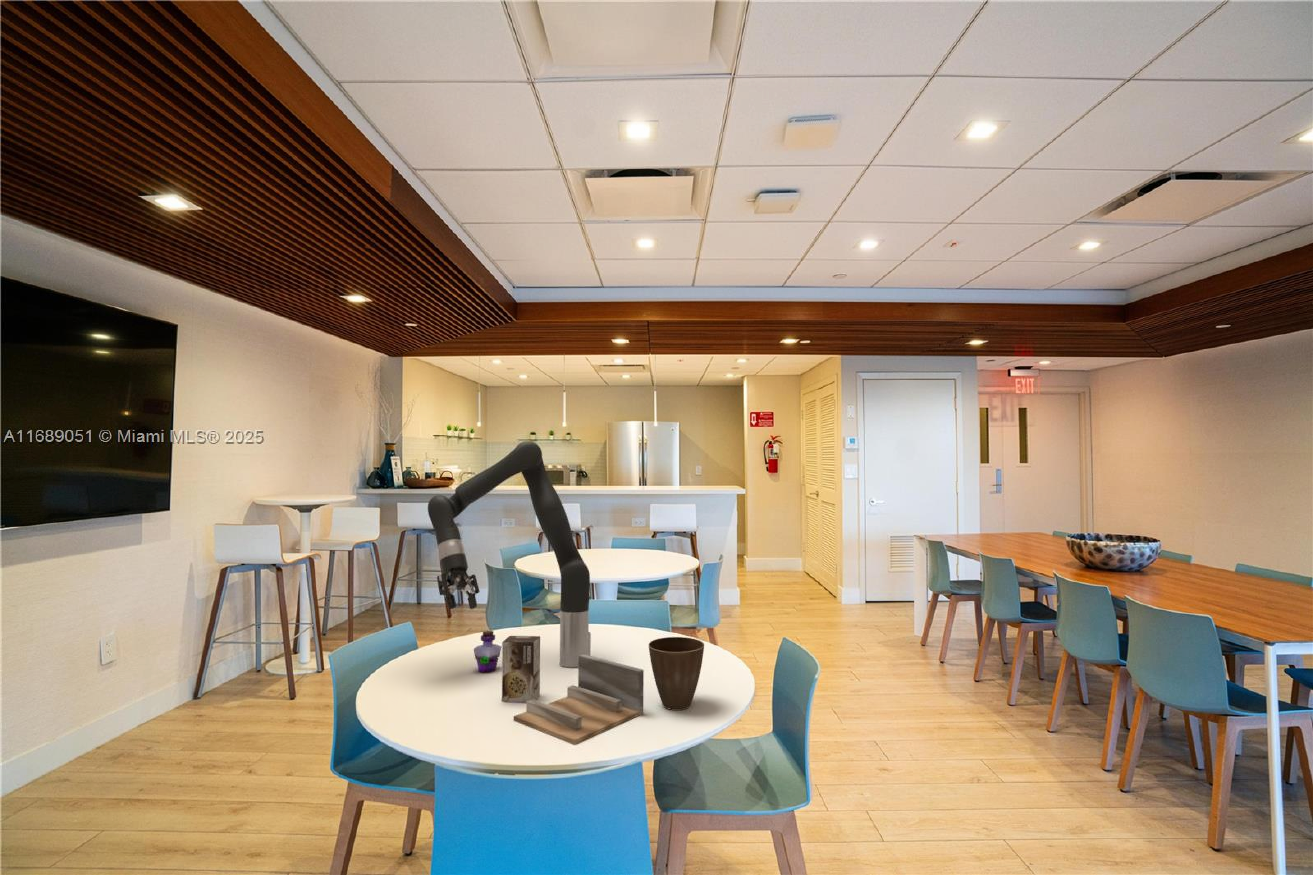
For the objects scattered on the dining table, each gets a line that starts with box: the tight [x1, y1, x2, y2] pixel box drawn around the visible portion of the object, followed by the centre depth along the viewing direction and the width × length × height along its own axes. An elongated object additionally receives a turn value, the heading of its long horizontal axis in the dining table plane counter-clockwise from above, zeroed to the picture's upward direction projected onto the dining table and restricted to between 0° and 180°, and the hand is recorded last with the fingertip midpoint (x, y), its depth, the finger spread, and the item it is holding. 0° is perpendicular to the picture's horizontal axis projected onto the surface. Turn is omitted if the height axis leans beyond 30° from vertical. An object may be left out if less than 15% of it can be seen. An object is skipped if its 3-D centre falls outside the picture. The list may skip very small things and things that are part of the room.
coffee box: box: [501, 635, 541, 703], centre depth 169 cm, size 9×6×16 cm
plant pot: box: [648, 636, 705, 710], centre depth 164 cm, size 15×15×16 cm
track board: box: [513, 654, 644, 745], centre depth 155 cm, size 24×22×11 cm
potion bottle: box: [473, 630, 502, 674], centre depth 193 cm, size 9×9×12 cm
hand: (463, 608), depth 182 cm, fingers open, 8 cm apart
